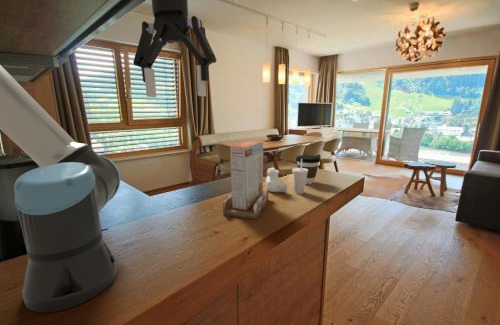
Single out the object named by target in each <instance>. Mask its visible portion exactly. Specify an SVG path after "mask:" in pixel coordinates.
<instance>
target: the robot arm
mask: <svg viewBox="0 0 500 325" xmlns="http://www.w3.org/2000/svg"><path fill="white" fill-rule="evenodd" d="M188 6H189V5H188V0H151V8H152V14H153V17H154V20H153V22H152V23H151V22H147V21H145V20H144V21H141V34H140V38H139V41H138V43H137V49H136V52H135V54H134V59H133V65H134V66H137V67H139V68H141V75H142V82H143V83H145V93H146V97H147V98H157V88H156V78H155V77H156V76H155V69H153V65H154V63H155V62H156V60H157V58H158V56H159V54H160V53H161V51H162V49H163V48H164V47H166V46H167V44H170V45H171V44H174V43H178V44H180V43H183V44H184V45H185V47H186V48H187V50H188V51H189V52H190V53H191V54H192V55H193V57H194V58H195V59H196V60H197V62H198V64H197V65H196V84H197V86H196V87H197V88H196V89H197V96H198V97H207V84H206V82H207V81H209V79H210V75H209V74H210V73H209V69H210V68H209V67H210V65H211V64H214V63H216V62H217V58H216V55H215V53H214V51H213V48H212V47H211V45H210V43H209V40H208V38H207V36H206V35H205V32H204V30H203V23H202V20H201V19H200V18H198V17H197V16H195V15H191V18H188V16H189V9H188ZM190 28H191V30H192V31H193V33H194V35H195V37H196V39H197V41H198V44H199V46H200V47H201V50H202V52H203V53H204V54H203V53H202V52H201V50H200V49H199V48H198V46H197V45H196V44H195V42H194V41H193V40H192V38H191V37H190V36H189V34H188V32H189V29H190ZM0 130H1V132H3V133H4V134H5V135H6V136H7V137H8V138H9V139H10V140H11V141H12V142H13V143H14V144H15V145H17V146H18V147H19V148H20V149H21V150H22V151H23V152H24V153H25V154H26V155H27V156H28V157H29V158H31V160H32V161H33V162H34V163H36V164H37V165H38V167H36V168H33V169H31V170H28V171H27V172H25V173H23V174H21V175H20V176H18V178H17V179H16V181H15V183H14V184H13V191H14V198H13V199H14V206H15V207H16V210H17V213H18V214H17V215H18V218H19V223H20V227H21V232H22V236H23V239H24V245H25V247H26V248H25V249H26V252H27V253H26V254H27V259H28V261H27V267H26V271H25V276H24V281H23V286H22V289H21V291H22V293H21V294H22V298H23V303H24V305H25V307H26V308H27V309H28V310H29V311H33V312H36V313H54V312H60V311H64V310H68V309H71V308H75V307H77V306H79V305H82V304H84V303H86V302H88V301H90V300H92V299H93V298H95V297H97V296H98V295H100V294H101V293H102V292H104V291H105V290H106V289H108V288H109V287H110V285H111V284H112V283H113V282H114V280H115V279H116V277H117V273H118V269H117V268H118V267H117V262H116V259H115V257H114V255H113V254H112V252H111V250H110V249H109V246H108V245H107V244H106V242H105V240H104V237H103V233H102V224H101V217H100V212H101V210H102V209H103V208H104V207H105V206H106V205H107V204H108V202H109V201H111V200H112V199H113V198H114V197H115V196H116V194H118V193H117V192H118V191H119V188H120V184H121V180H122V179H121V178H122V177H121V176H122V175H121V173H120V172H121V171H120V169H119V168H118V166H117V164H116V163H115V162H114V161H113V160H111V159H110V158H108V157H106V156H102V155H99V154H98V153H97V152H96V151H94V149H93V148H92V147H91V146H90V145H89V144H88V143H81V142H77V141H76V140H74V138H72V137H71V135H69V133H68V132H66V130H64V128H63V127H62V126H61V125H60V124H59V122H57V121H56V120H55V119H54V118H53V117H52V116H51V115H50V114H49V113H48V112H47V111H46V110H45V109H44V108H43V107H42V105H40V104H39V103H38V102H37V101H36V100H35V99H34V98H33V97H32V95H30V93H29V92H28V91H27V90H25V88H24V87H23V86H22V85H20V83H18V81H17V80H16V79H15V78H14V77H13V76H12V75H11V74H10V73H9V72H8V71H7V70H6V69H5V68H4V67H3V66H2V65H1V64H0Z"/></svg>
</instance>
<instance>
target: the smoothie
mask: <svg viewBox="0 0 500 325" xmlns="http://www.w3.org/2000/svg"><path fill="white" fill-rule="evenodd" d="M291 172H292V176H293V177H292V178H293V179H292V180H293V190H294V193H295V192H296V193H299V194H298V195H303V194H304V193H305V189H306V188H305V187H306V184H305V183H306V178H307V173H308V169H305V168H302V159H301V168H297V167H293V168H292V169H291ZM296 193H295V194H296ZM302 193H303V194H302Z"/></svg>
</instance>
